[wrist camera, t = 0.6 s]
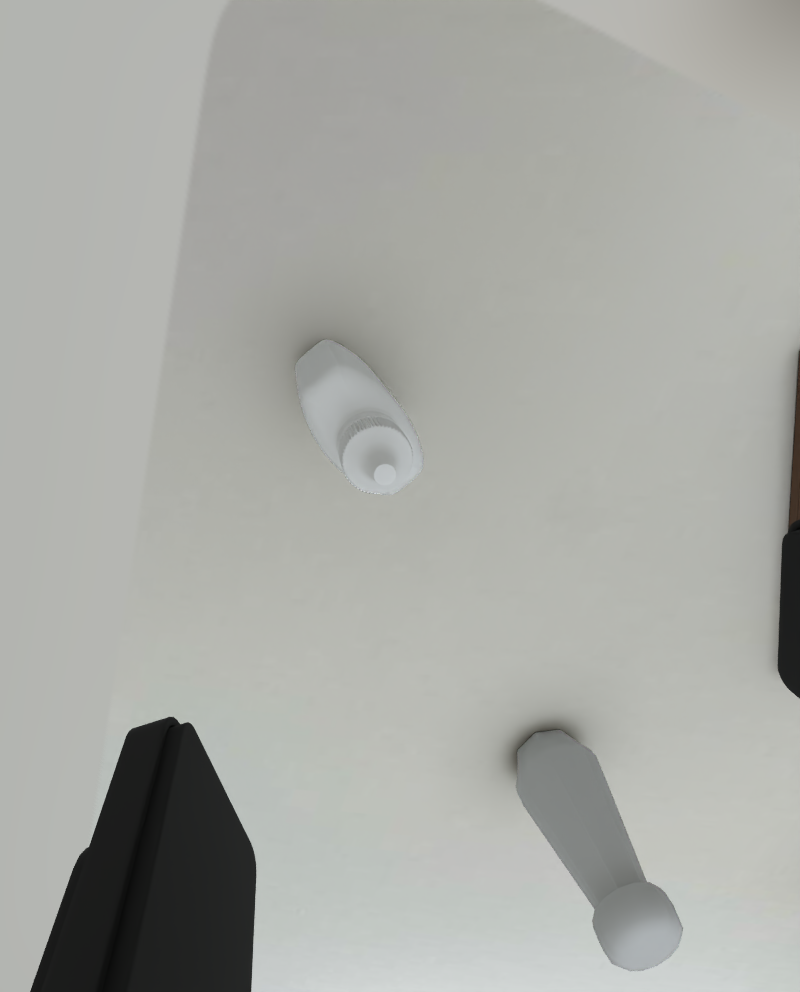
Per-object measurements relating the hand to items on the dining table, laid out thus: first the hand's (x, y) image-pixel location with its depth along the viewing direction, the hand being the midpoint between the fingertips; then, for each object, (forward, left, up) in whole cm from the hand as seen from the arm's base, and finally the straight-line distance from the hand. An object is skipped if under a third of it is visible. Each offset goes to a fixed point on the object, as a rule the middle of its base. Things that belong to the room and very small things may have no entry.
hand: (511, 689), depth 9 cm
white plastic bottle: (0, 0, -22) cm, 22 cm away
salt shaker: (+28, +7, -22) cm, 36 cm away
